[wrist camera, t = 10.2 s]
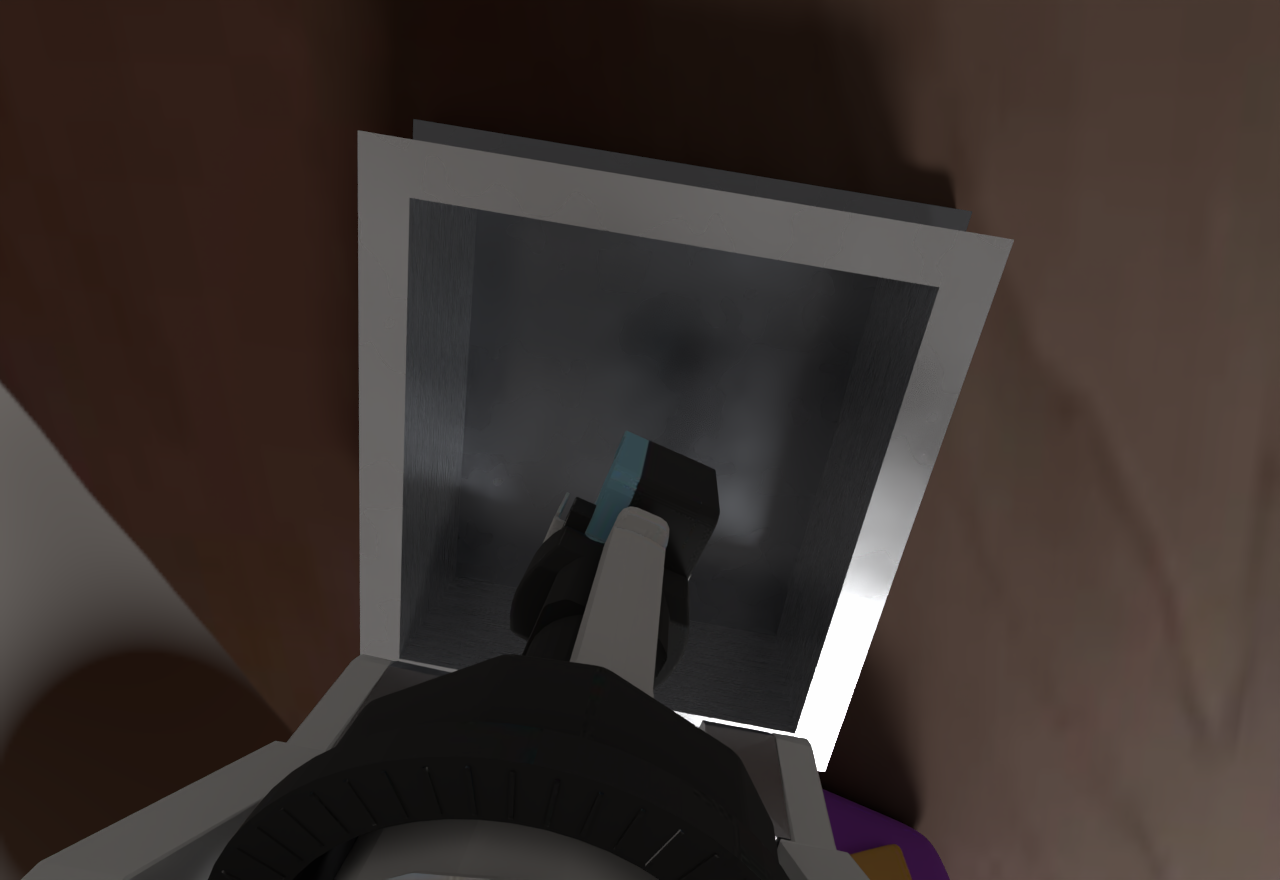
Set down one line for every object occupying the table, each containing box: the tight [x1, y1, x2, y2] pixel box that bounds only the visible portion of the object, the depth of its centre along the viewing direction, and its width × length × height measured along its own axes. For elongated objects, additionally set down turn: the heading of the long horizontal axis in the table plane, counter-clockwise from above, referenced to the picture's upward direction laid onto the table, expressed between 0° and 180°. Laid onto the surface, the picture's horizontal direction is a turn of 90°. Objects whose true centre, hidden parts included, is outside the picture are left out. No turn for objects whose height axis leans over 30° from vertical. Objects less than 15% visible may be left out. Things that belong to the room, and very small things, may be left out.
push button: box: [208, 431, 790, 880], centre depth 9 cm, size 7×5×10 cm
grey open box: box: [358, 119, 1014, 772], centre depth 18 cm, size 16×17×6 cm
